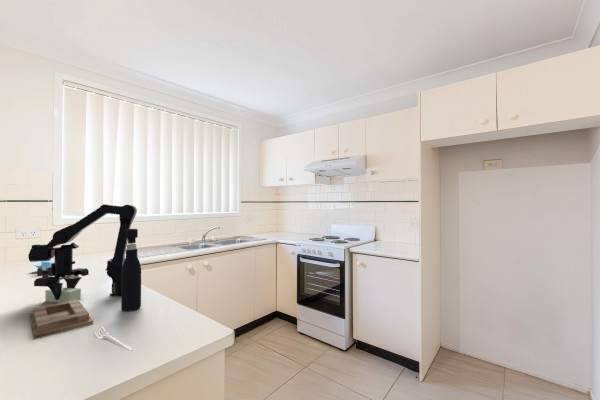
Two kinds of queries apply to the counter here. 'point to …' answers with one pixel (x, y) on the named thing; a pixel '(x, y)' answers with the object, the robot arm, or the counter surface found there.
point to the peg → (64, 295)
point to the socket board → (58, 318)
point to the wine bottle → (131, 275)
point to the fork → (110, 338)
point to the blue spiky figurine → (44, 264)
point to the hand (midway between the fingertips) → (63, 297)
